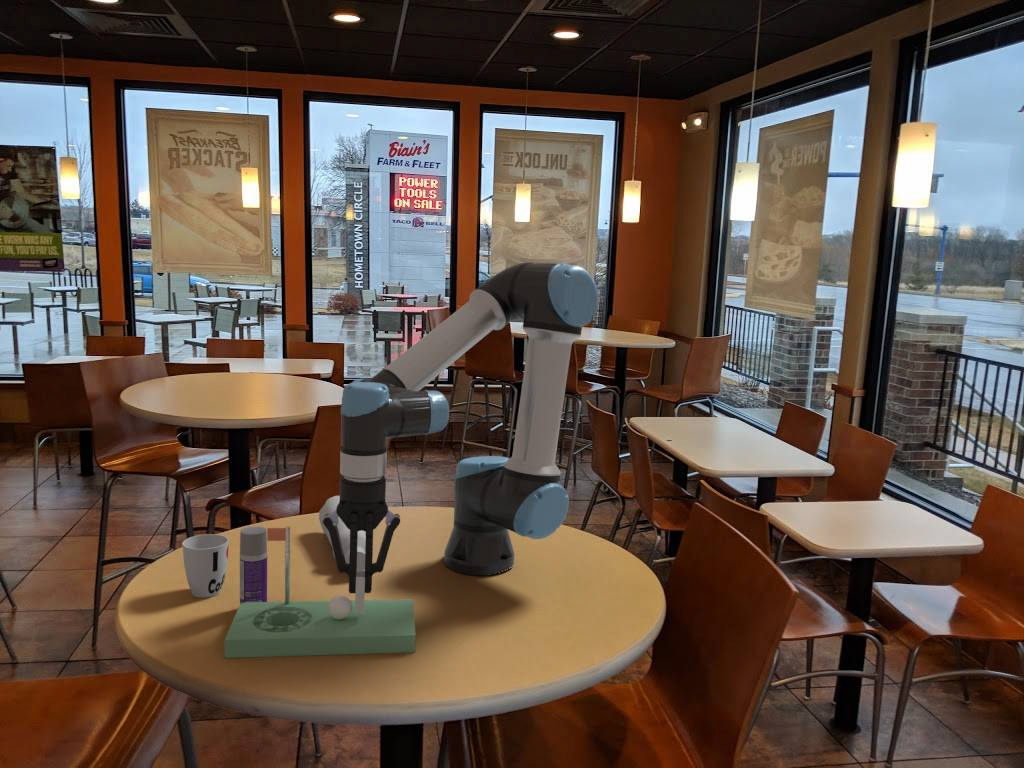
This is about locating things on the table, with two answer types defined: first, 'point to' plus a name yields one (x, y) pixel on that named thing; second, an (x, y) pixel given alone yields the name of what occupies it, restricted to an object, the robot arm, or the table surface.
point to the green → (320, 629)
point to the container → (253, 564)
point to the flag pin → (284, 535)
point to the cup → (205, 563)
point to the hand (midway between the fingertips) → (359, 610)
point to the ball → (340, 607)
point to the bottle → (344, 533)
